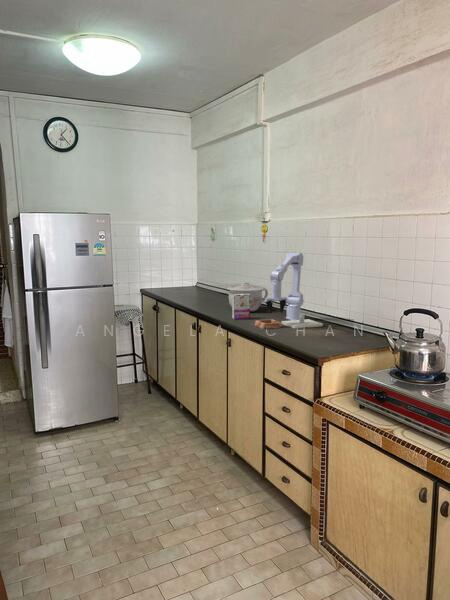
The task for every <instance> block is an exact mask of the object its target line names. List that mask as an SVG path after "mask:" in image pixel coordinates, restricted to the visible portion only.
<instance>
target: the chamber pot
mask: <svg viewBox="0 0 450 600" xmlns="http://www.w3.org/2000/svg"><path fill="white" fill-rule="evenodd" d="M226 289H227V290H229V293H228V302H229V305H230V307H231V308H232V294H250V313H253V312H256V311H258V309H259V308H260V307H261V305H262V303H263V302H265V298H268V295H269V292H268V290H267V288H266V287H263V286H258V285H250V283H249V282H243V283H242V284H238V285H237V284H236V285H230V286H228V287H227V288H226ZM263 291H264V292H265V293H264V296H263V293H262V292H263Z"/></svg>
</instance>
